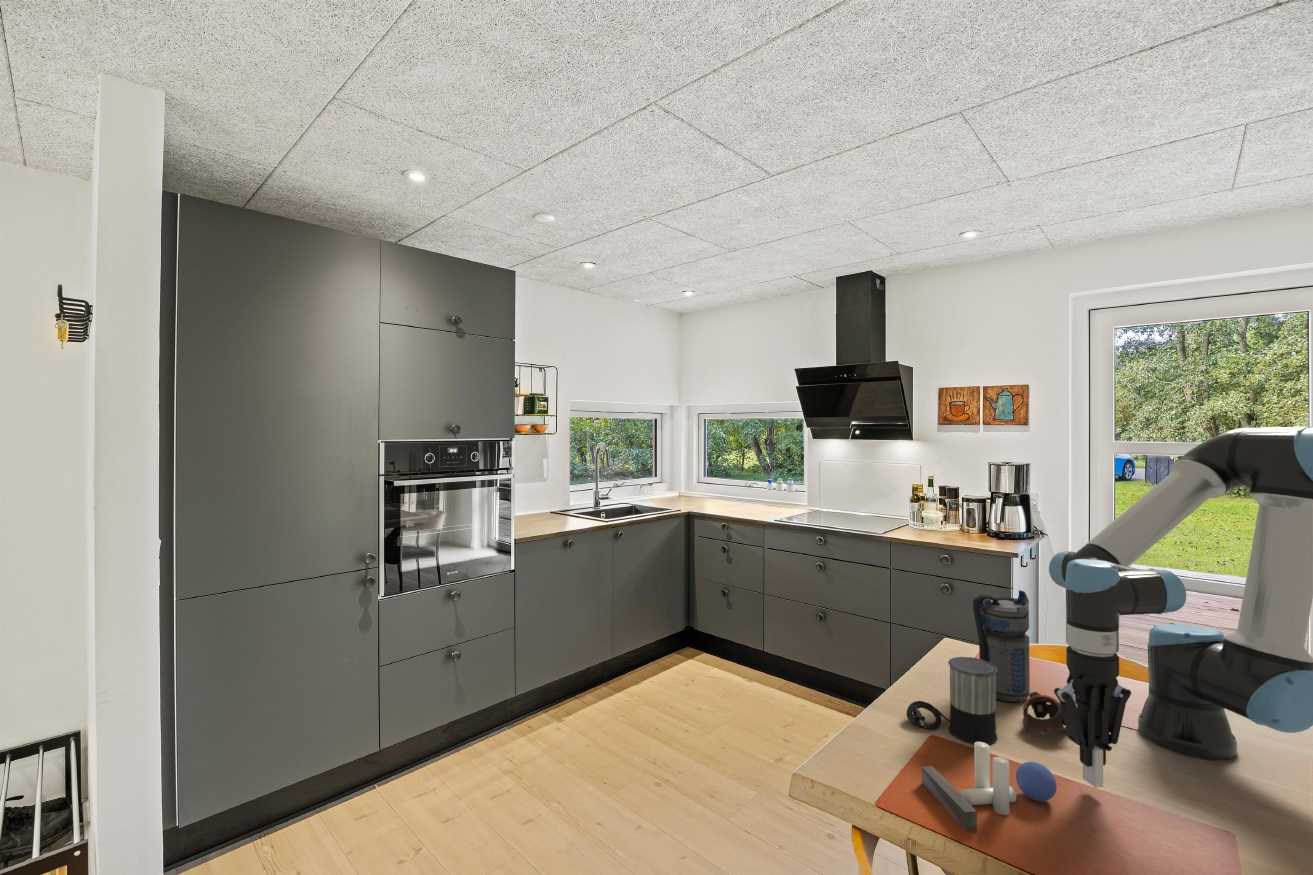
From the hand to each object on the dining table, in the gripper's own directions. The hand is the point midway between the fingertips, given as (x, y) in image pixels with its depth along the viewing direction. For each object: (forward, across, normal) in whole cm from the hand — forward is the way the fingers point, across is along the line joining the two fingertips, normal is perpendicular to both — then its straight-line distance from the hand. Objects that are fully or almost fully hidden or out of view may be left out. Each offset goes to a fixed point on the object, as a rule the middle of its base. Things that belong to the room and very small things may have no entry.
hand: (1092, 782), depth 105 cm
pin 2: (+2, -19, -2) cm, 19 cm away
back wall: (+2, -27, 0) cm, 27 cm away
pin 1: (+2, -19, +2) cm, 19 cm away
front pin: (+1, -15, 0) cm, 15 cm away
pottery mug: (+2, +9, +22) cm, 24 cm away
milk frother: (+2, -12, +24) cm, 27 cm away
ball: (-1, -11, 0) cm, 11 cm away
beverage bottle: (+2, +10, +38) cm, 39 cm away
